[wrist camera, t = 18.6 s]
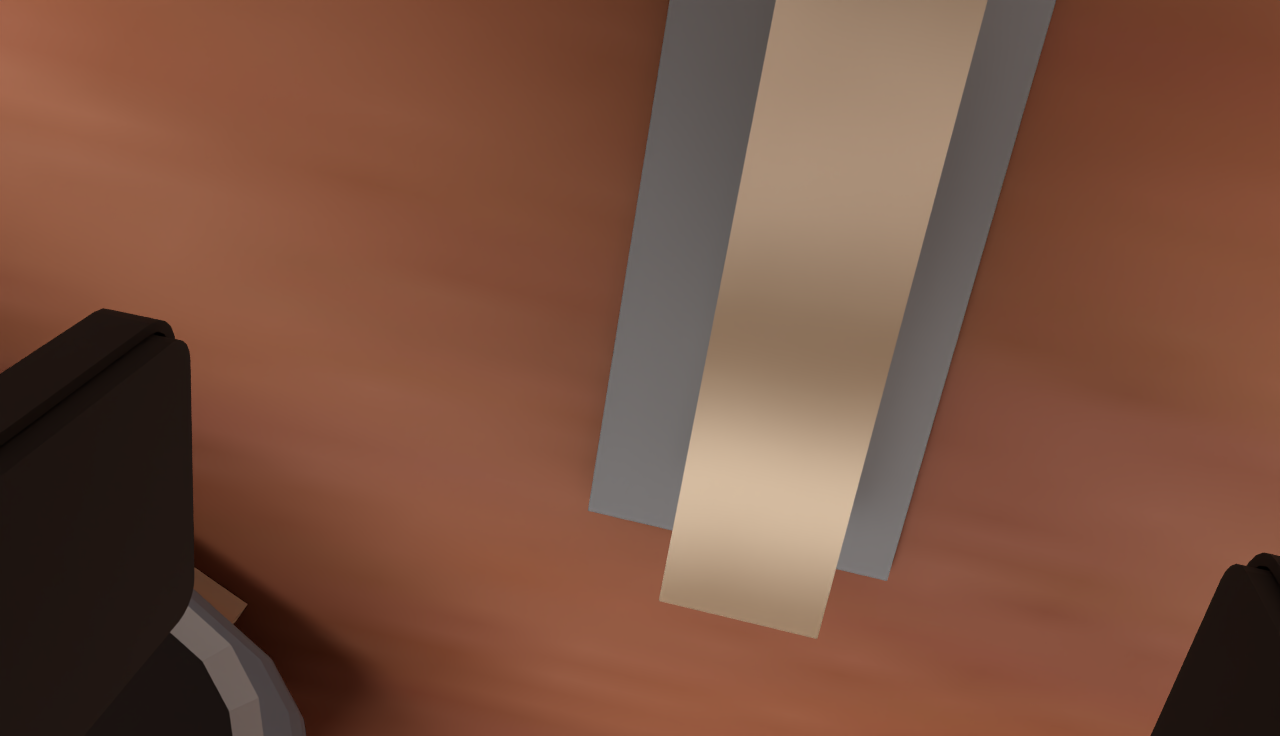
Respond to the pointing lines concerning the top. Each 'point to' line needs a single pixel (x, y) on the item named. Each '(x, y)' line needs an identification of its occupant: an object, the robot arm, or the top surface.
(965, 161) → the mat
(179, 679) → the alarm clock
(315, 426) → the top surface
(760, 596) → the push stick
